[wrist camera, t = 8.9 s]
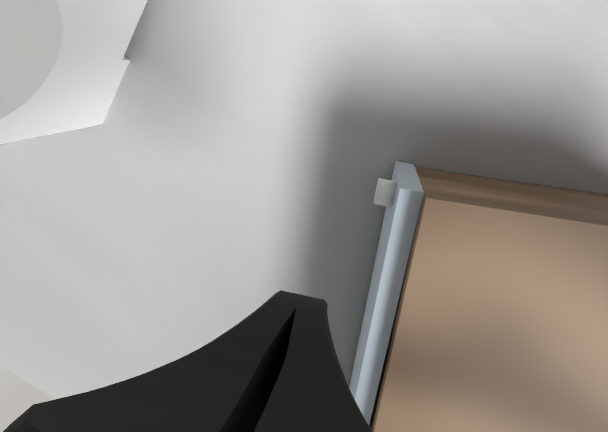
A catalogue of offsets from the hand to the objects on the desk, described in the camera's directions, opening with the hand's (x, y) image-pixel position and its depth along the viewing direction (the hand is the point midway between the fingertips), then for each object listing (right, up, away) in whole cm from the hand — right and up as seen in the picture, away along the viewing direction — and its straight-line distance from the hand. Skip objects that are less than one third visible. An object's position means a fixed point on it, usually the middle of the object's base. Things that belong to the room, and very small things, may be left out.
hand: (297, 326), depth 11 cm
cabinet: (+9, -2, +9) cm, 13 cm away
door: (+3, -1, +10) cm, 10 cm away
